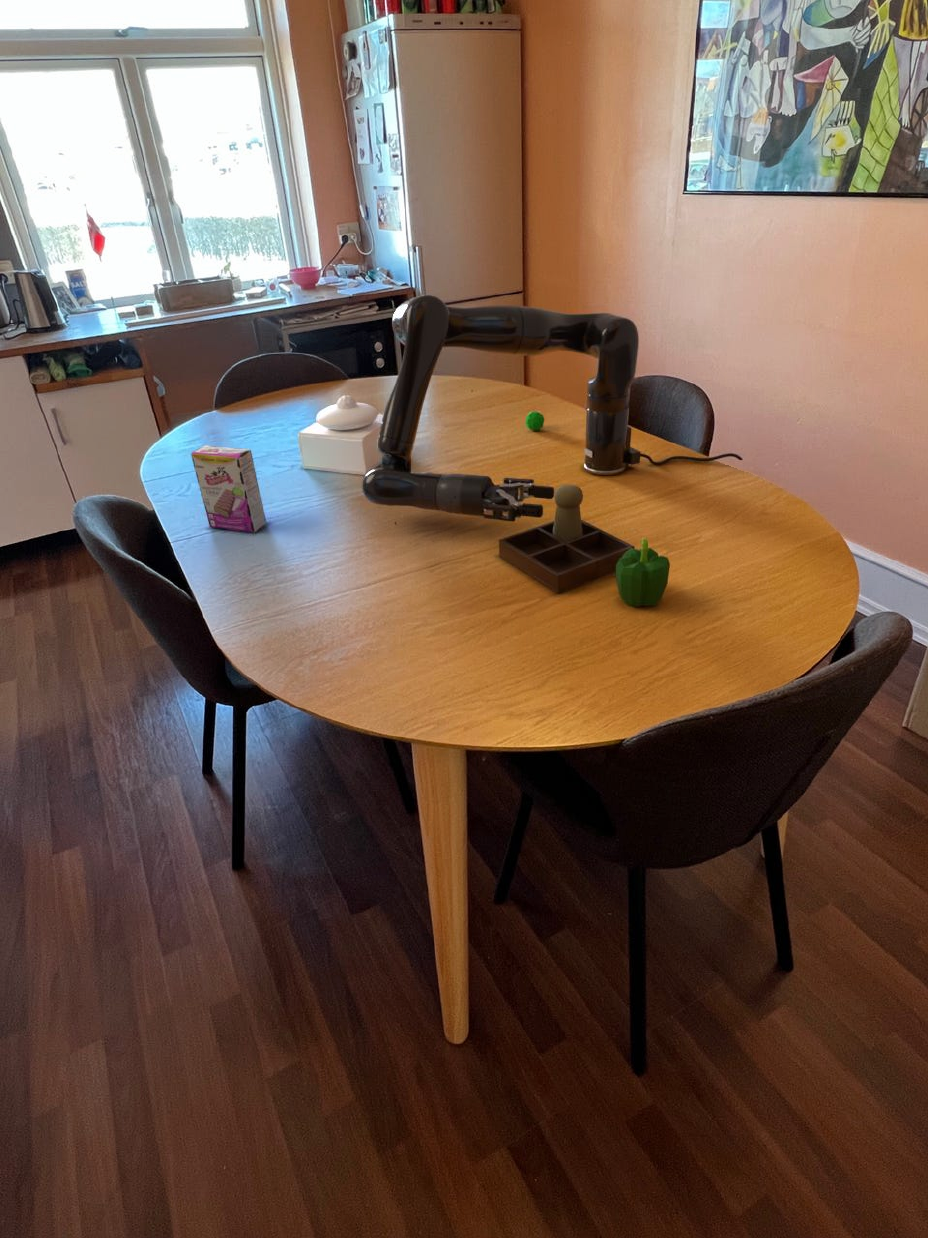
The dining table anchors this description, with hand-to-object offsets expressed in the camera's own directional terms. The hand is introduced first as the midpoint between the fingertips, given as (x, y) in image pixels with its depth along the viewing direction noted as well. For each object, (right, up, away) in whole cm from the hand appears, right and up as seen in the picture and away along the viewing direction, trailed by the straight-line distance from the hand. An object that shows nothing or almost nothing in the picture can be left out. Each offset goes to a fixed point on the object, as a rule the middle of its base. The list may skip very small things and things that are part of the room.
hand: (548, 501), depth 136 cm
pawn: (+4, -7, +3) cm, 9 cm away
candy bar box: (-62, -2, +19) cm, 65 cm away
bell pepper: (+14, -19, -14) cm, 27 cm away
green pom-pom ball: (+3, +29, +61) cm, 68 cm away
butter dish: (-43, +18, +50) cm, 68 cm away
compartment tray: (+3, -11, -1) cm, 11 cm away
